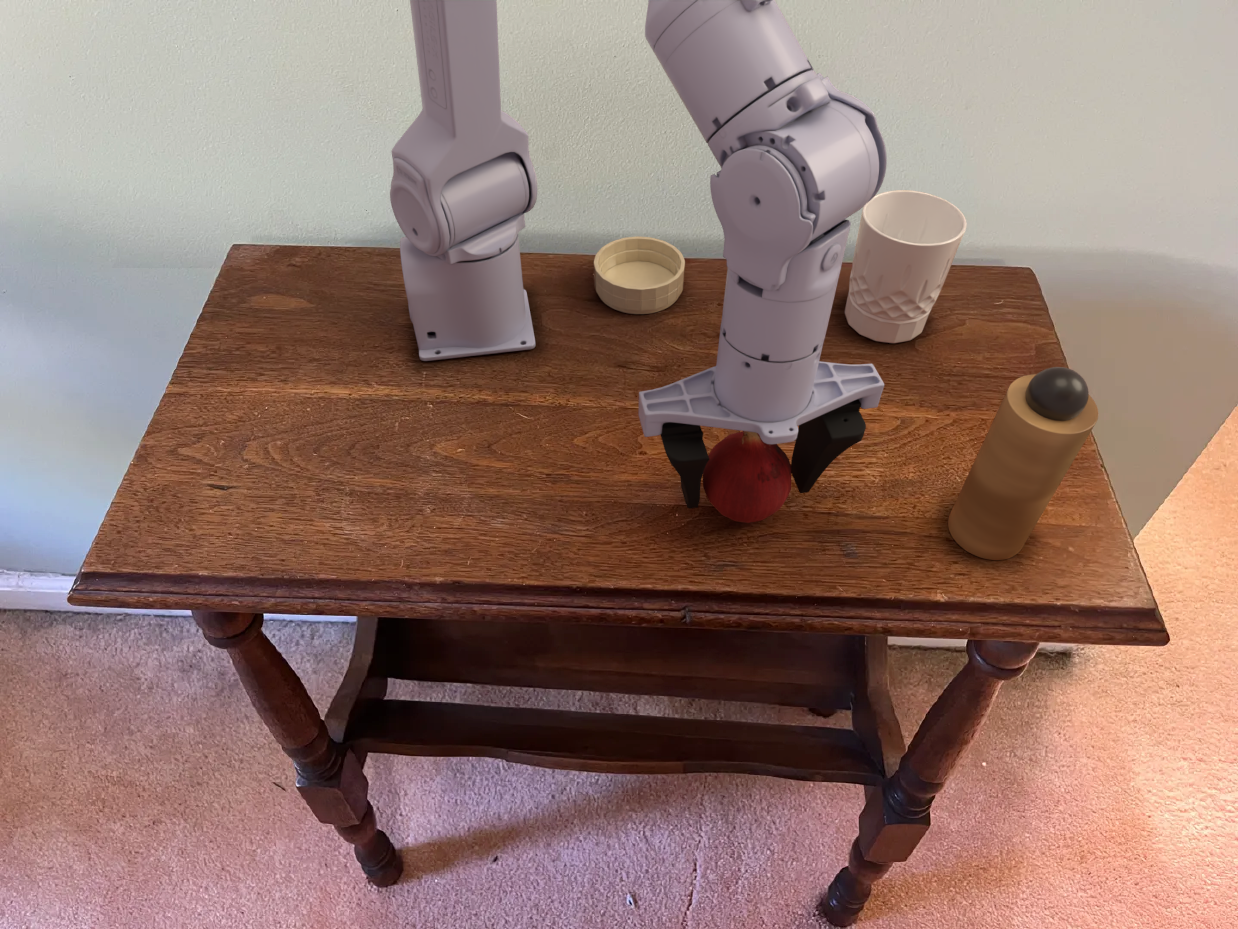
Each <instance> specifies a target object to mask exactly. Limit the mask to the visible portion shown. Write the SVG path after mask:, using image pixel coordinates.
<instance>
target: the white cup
mask: <svg viewBox="0 0 1238 929" xmlns="http://www.w3.org/2000/svg"><path fill="white" fill-rule="evenodd" d="M967 226H968V224H967V218H966V217H965V215H964V213H963V212H962V211H961V210H960V209H959V207H957V206H956V205H955V204H953V203H952V202H950V201H949V200H946V199H945V198H942V197H940V196H937V195H934V194H931V193H928V192H923V191H919V190H910V189H909V190H907V189H906V190H904V189H898V190H896V189H895V190H888V191H883V192H880V193H877V194H876V195H875V196H874V197H873V198H872V199H871V200H870V201H869V202H868V203H866V205H865V206H864V207H862V208H861V214H860V221H859V226H858V230H857V236H856V242H855V246H854V251H853V256H852V263H851V271H850V275H849V283H848V284H849V285H848V294H847V298H846V304H845V307H844V316H845V318H846V322H847V324H848V326H850V328H852V329H853V330H854V331H855V332H856V333H857V334H859V335H861V336H862V337H865V338H867V339H870V340H872V341H874V342H880V343H887V344H888V343H889V344H898V343H905V342H909V341H911V340H913V339H915V338H916V337H918V336H919V335H920V334H922V333H923V330H924V328H925V326H926V323H927V320H928V318H929V315H930V313H931V311H932V309H933V307H934V305H935V304H936V302H937V299H938V298H939V296H940V294H941V291H942V289H943V287H944V284H945V282H946V279H947V277H948V274H949V272H950V270H951V267H952V265H953V262H954V260H955V258H956V254H957V252H958V249H959V247H960V245H961V241H962V240H963V238H964V235H965V233H966V231H967Z"/></svg>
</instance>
